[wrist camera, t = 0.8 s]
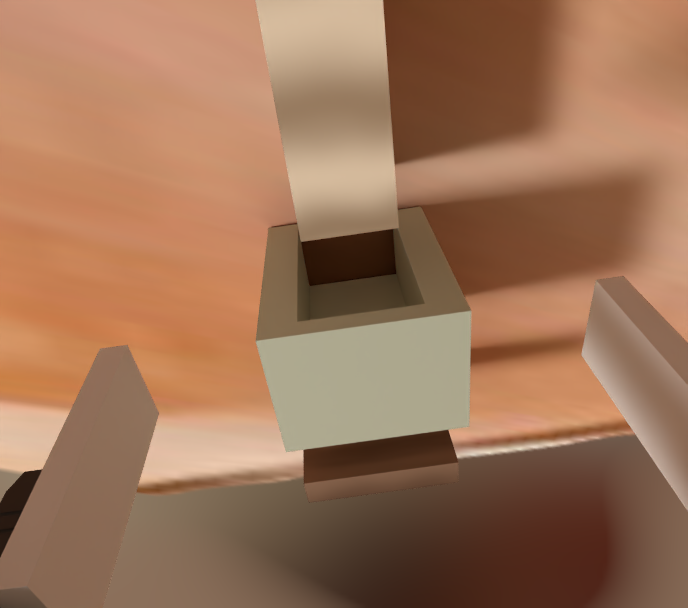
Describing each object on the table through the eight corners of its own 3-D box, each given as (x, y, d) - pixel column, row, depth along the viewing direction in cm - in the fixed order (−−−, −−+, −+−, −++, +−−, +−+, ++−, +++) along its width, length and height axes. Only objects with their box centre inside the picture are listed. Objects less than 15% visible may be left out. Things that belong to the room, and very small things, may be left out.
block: (268, 228, 35) (255, 340, 25) (420, 206, 35) (471, 310, 25) (289, 322, 40) (285, 451, 30) (425, 303, 40) (469, 426, 29)
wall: (302, 371, 43) (303, 483, 34) (424, 354, 43) (458, 462, 34) (310, 405, 45) (313, 520, 36) (425, 389, 45) (458, 500, 36)
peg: (253, -89, 26) (235, -107, 19) (353, -104, 26) (374, -127, 19) (300, 178, 34) (300, 242, 26) (377, 167, 34) (398, 227, 26)
